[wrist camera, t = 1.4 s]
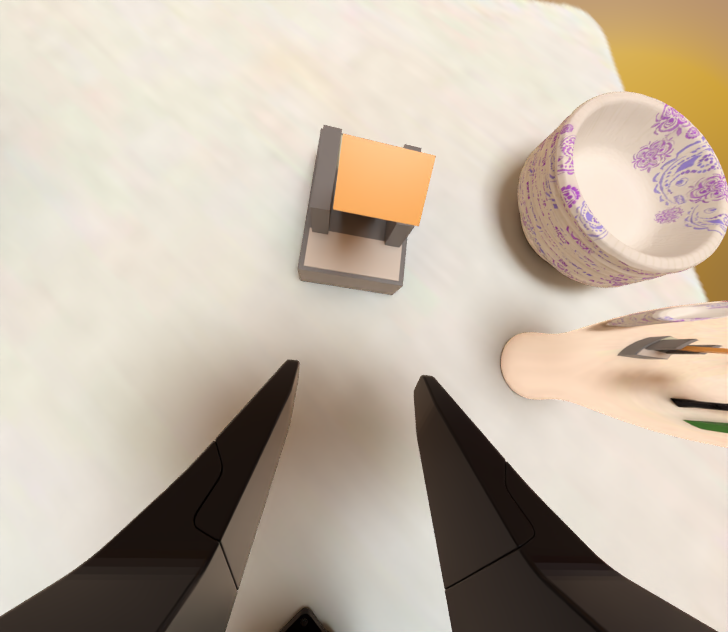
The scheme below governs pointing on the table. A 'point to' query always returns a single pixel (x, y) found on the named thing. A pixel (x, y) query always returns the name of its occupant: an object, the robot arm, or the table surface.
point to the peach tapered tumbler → (635, 369)
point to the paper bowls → (623, 193)
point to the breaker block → (348, 234)
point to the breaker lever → (382, 180)
